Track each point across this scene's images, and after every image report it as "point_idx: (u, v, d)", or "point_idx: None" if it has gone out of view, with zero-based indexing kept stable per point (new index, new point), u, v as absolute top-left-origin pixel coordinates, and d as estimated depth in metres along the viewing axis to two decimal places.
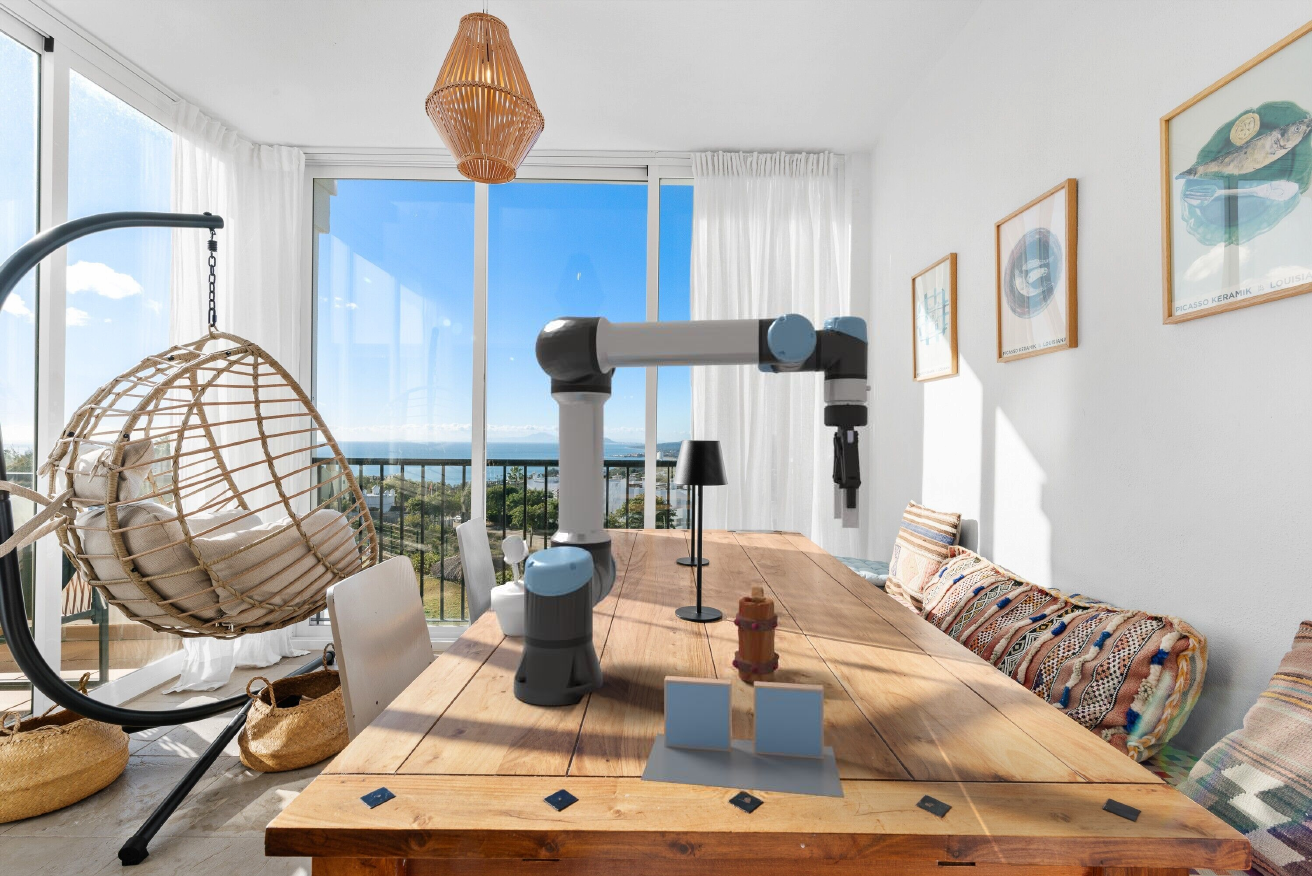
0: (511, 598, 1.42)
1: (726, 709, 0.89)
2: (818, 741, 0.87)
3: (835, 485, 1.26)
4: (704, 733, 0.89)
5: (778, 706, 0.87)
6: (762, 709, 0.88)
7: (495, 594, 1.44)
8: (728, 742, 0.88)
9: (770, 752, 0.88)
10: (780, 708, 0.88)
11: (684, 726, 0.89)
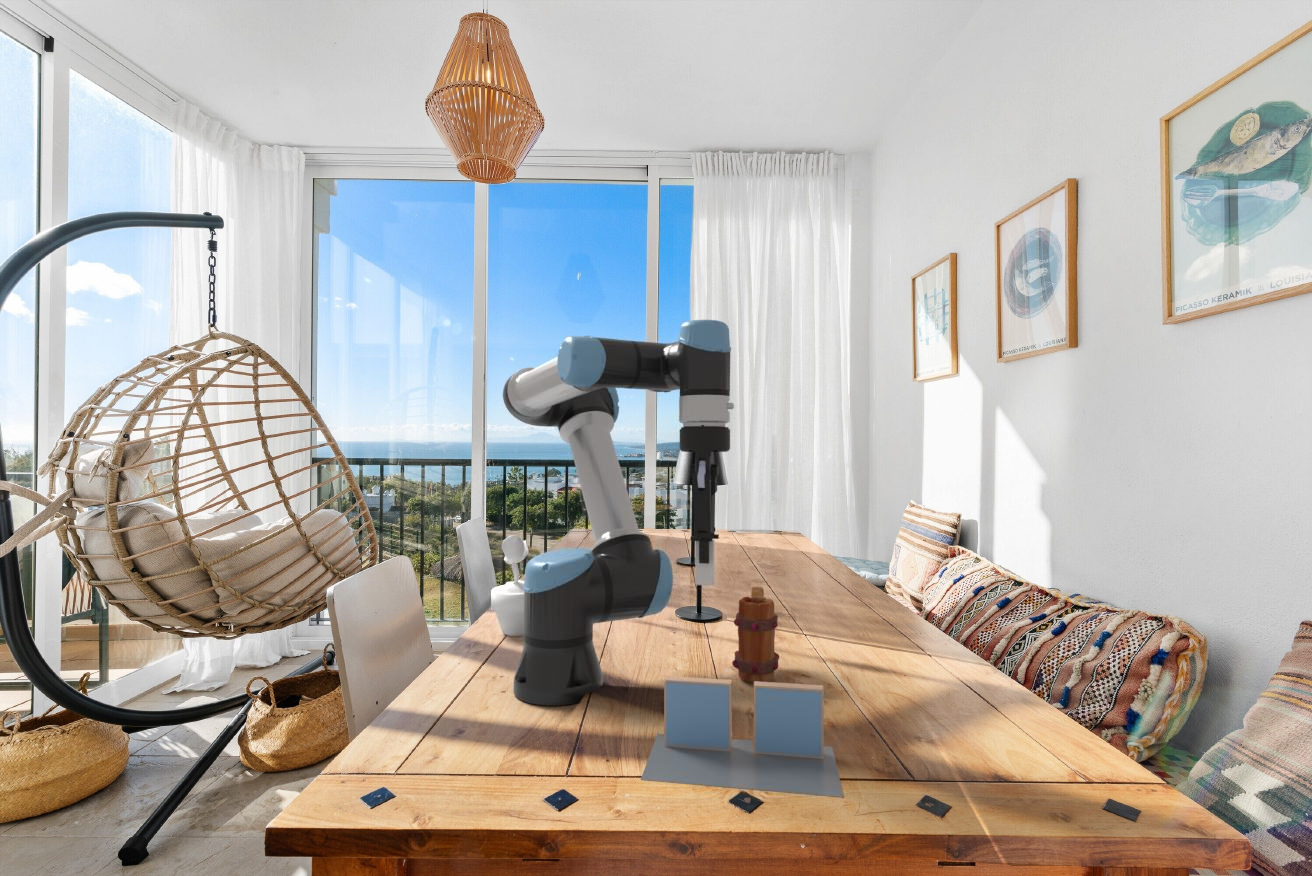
0: (511, 598, 1.42)
1: (726, 709, 0.89)
2: (818, 741, 0.87)
3: None
4: (704, 733, 0.89)
5: (778, 706, 0.87)
6: (762, 709, 0.88)
7: (495, 594, 1.44)
8: (728, 742, 0.88)
9: (770, 752, 0.88)
10: (780, 708, 0.88)
11: (684, 726, 0.89)
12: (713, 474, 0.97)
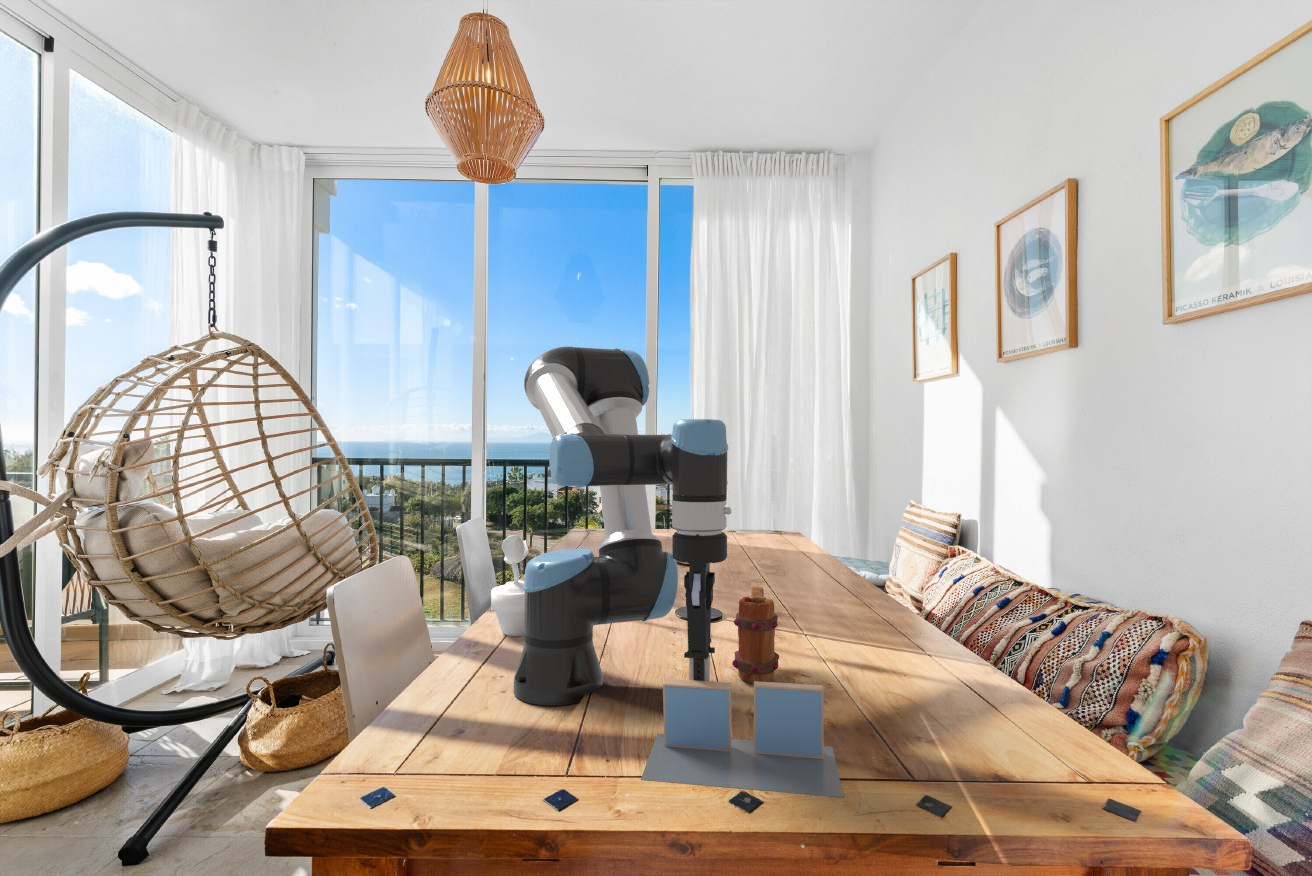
0: (511, 598, 1.42)
1: (726, 712, 0.88)
2: (818, 741, 0.87)
3: None
4: (704, 734, 0.89)
5: (778, 706, 0.87)
6: (762, 709, 0.88)
7: (495, 594, 1.44)
8: (728, 743, 0.88)
9: (770, 752, 0.88)
10: (780, 708, 0.88)
11: (684, 728, 0.89)
12: (709, 587, 0.89)
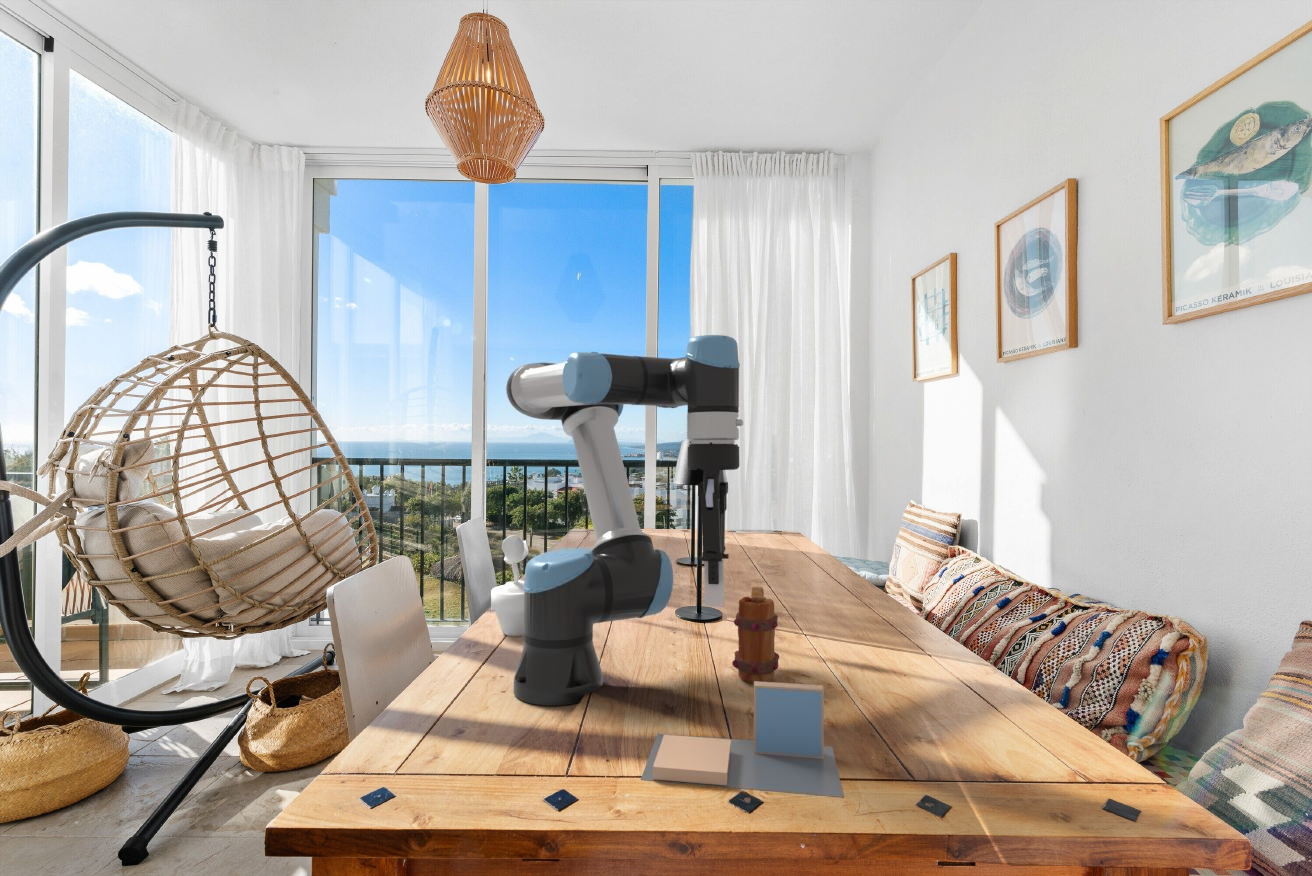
0: (511, 598, 1.42)
1: None
2: (818, 741, 0.87)
3: None
4: None
5: (778, 706, 0.87)
6: (762, 709, 0.88)
7: (495, 594, 1.44)
8: None
9: (770, 752, 0.88)
10: (780, 708, 0.88)
11: None
12: (722, 493, 0.95)
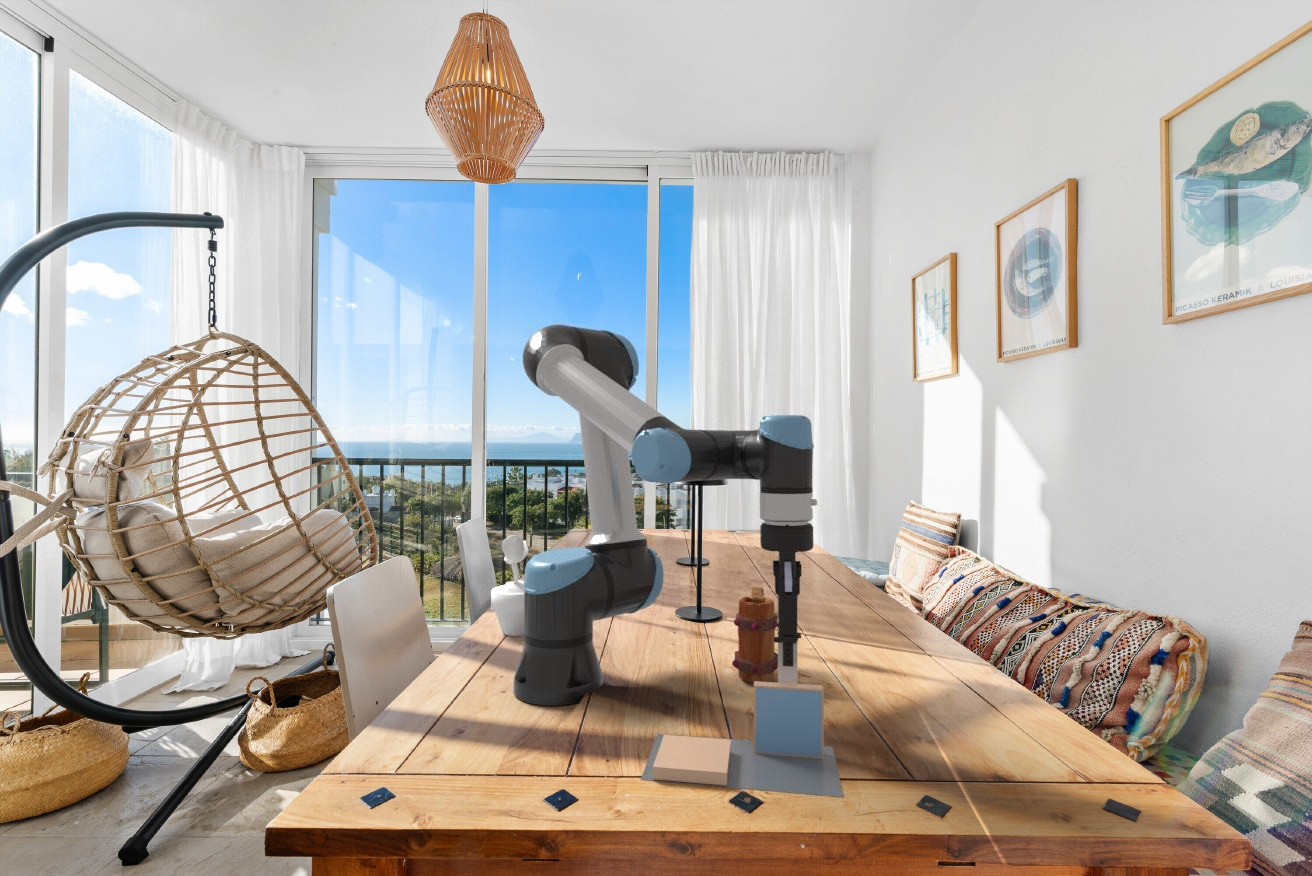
0: (511, 598, 1.42)
1: None
2: (818, 741, 0.87)
3: None
4: None
5: (778, 706, 0.87)
6: (762, 709, 0.88)
7: (495, 594, 1.44)
8: None
9: (770, 752, 0.88)
10: (780, 708, 0.88)
11: None
12: (797, 574, 0.94)
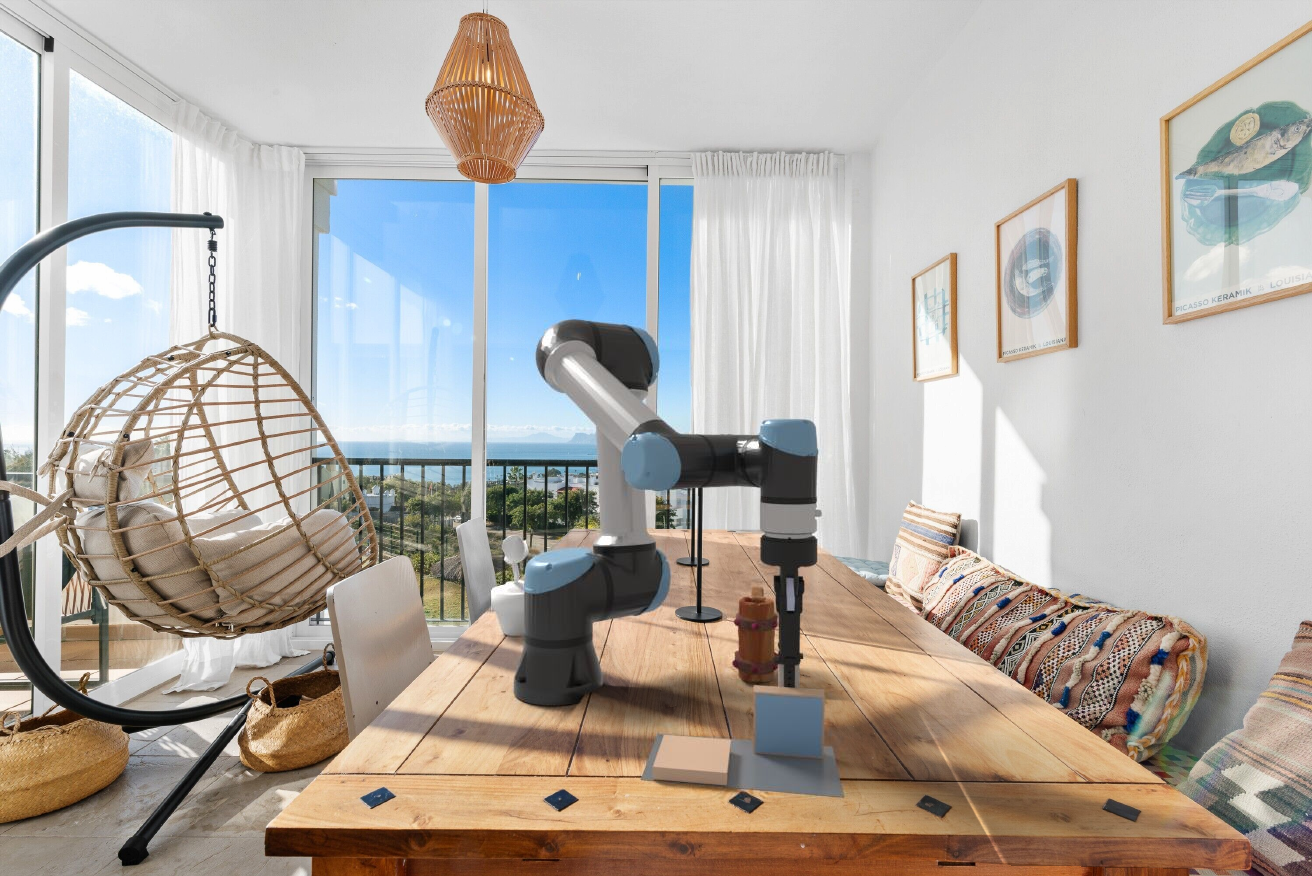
0: (511, 598, 1.42)
1: None
2: (818, 743, 0.86)
3: None
4: None
5: (778, 711, 0.86)
6: (762, 713, 0.87)
7: (495, 594, 1.44)
8: None
9: (770, 753, 0.87)
10: (780, 712, 0.86)
11: None
12: (800, 591, 0.87)
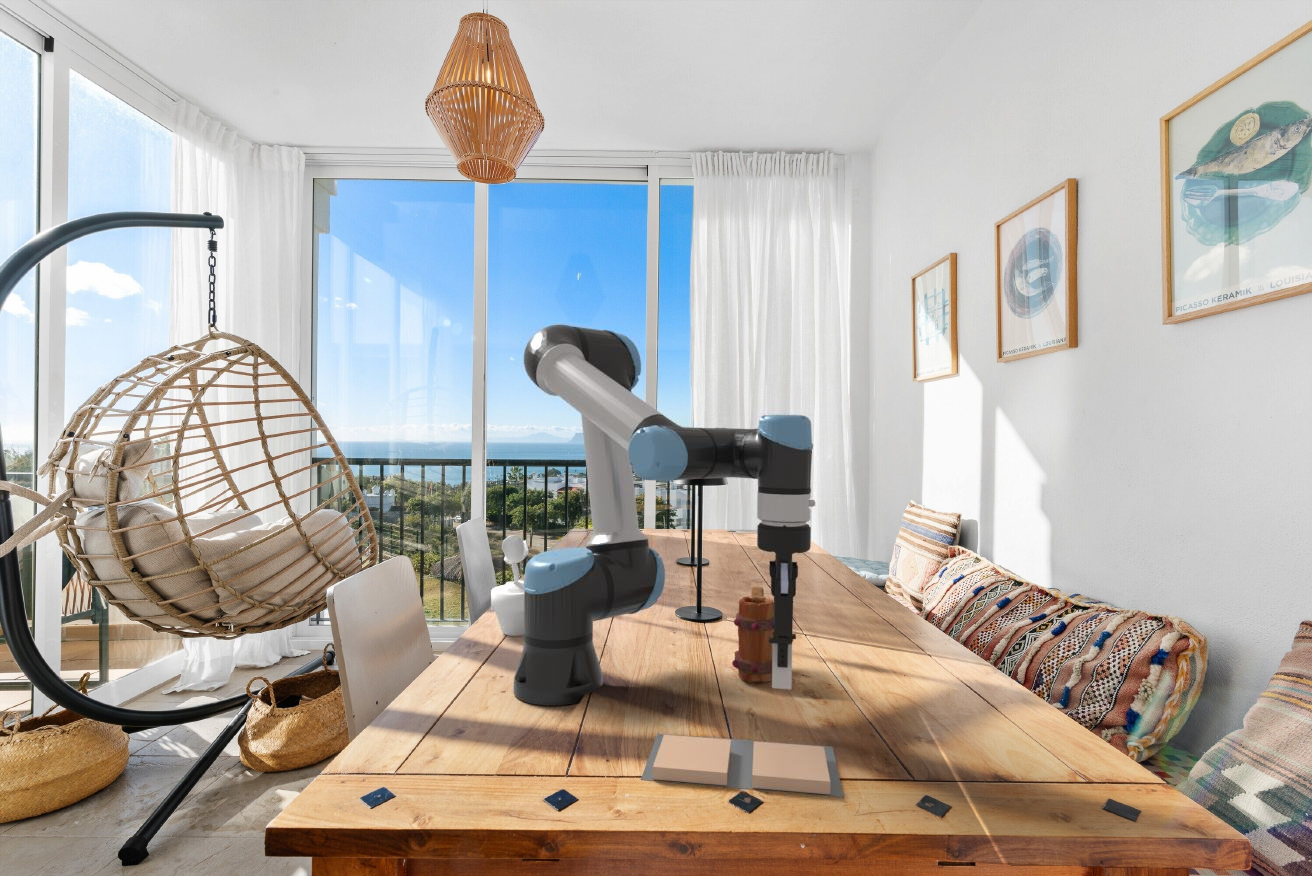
0: (511, 598, 1.42)
1: None
2: None
3: None
4: None
5: None
6: None
7: (495, 594, 1.44)
8: None
9: None
10: None
11: None
12: (794, 575, 0.93)
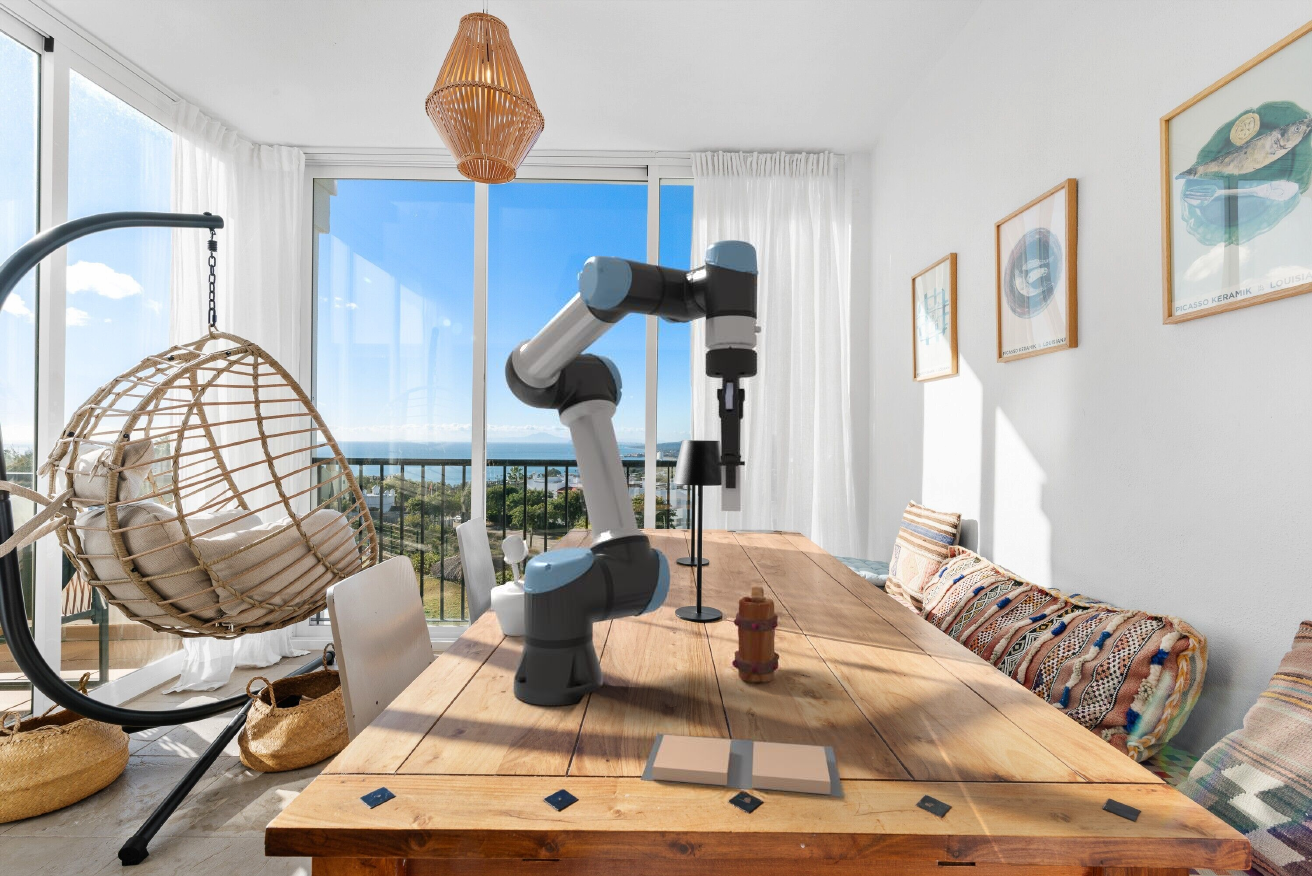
0: (511, 598, 1.42)
1: None
2: None
3: None
4: None
5: None
6: None
7: (495, 594, 1.44)
8: None
9: None
10: None
11: None
12: (740, 397, 0.95)
